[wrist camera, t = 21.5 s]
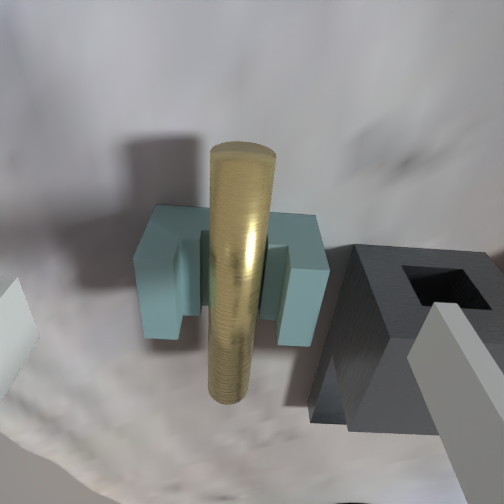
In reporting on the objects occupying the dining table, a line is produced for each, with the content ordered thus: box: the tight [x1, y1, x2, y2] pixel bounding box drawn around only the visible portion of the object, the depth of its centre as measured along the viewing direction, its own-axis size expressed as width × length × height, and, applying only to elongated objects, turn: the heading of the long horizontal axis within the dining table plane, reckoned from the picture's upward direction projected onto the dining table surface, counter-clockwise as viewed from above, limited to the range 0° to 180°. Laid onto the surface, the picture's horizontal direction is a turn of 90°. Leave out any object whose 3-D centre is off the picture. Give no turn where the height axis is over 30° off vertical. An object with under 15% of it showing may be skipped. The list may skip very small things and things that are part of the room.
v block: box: [133, 205, 330, 347], centre depth 23 cm, size 6×10×6 cm, turn 86°
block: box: [308, 244, 504, 435], centre depth 27 cm, size 19×9×8 cm, turn 176°
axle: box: [208, 141, 276, 404], centre depth 22 cm, size 18×3×3 cm, turn 176°
